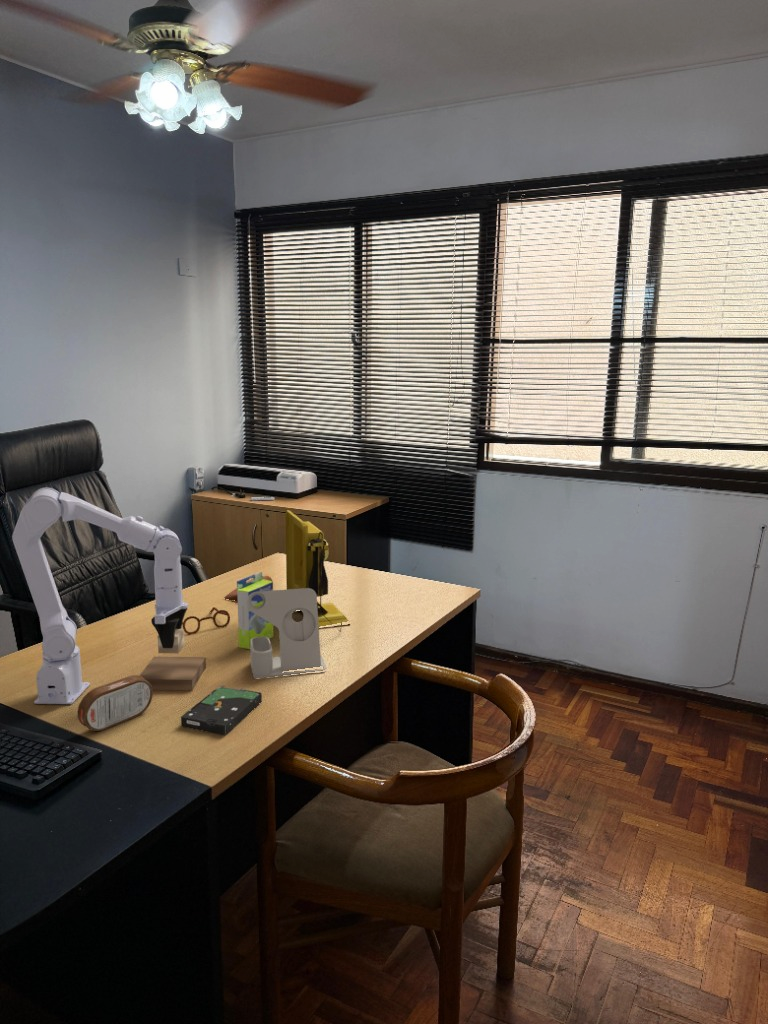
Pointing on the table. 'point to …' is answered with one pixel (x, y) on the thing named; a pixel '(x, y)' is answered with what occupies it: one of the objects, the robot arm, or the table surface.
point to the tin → (115, 703)
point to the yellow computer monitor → (309, 565)
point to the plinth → (174, 672)
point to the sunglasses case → (233, 594)
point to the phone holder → (287, 633)
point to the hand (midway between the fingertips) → (171, 643)
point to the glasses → (206, 619)
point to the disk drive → (221, 710)
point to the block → (177, 643)
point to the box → (247, 620)
